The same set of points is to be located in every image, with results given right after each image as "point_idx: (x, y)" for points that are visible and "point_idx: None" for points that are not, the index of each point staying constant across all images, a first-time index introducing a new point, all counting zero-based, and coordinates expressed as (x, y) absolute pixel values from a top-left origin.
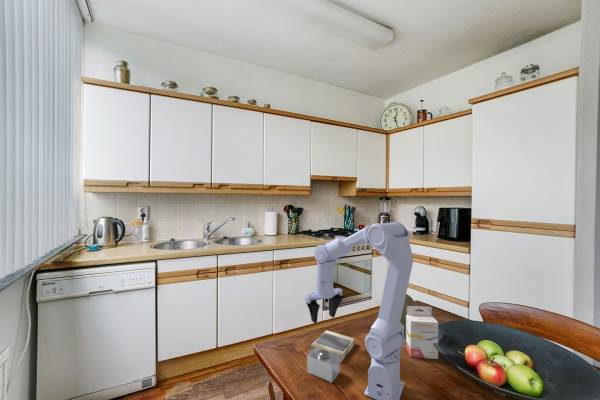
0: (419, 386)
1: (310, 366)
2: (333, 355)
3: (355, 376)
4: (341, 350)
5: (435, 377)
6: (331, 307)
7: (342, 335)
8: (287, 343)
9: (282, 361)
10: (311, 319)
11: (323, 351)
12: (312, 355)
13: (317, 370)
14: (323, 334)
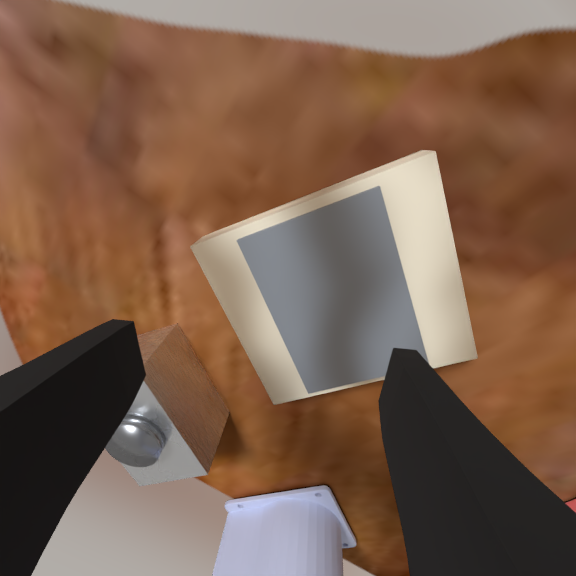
0: (385, 559)
1: None
2: (183, 460)
3: (264, 451)
4: (305, 387)
5: None
6: (425, 485)
7: (453, 289)
8: (109, 51)
9: (30, 215)
10: (99, 329)
11: (138, 442)
12: None
13: None
14: (349, 203)
